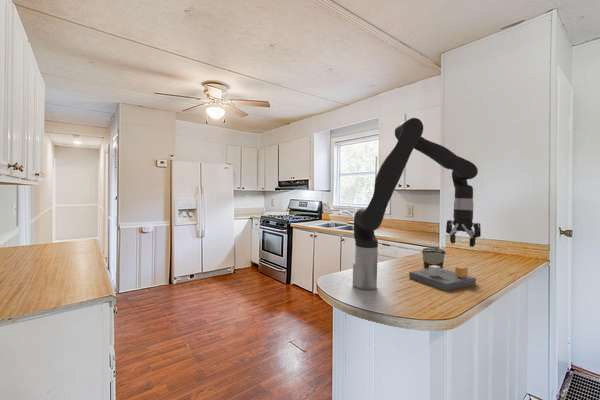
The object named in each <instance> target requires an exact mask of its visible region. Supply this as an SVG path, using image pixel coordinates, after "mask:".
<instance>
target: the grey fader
mask: <svg viewBox="0 0 600 400" xmlns="http://www.w3.org/2000/svg"><path fill="white" fill-rule="evenodd" d="M428 269H429V275H431V276H434V277H435V276H440V273H441V267H440V266H436V265H432V266H429V268H428Z"/></svg>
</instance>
